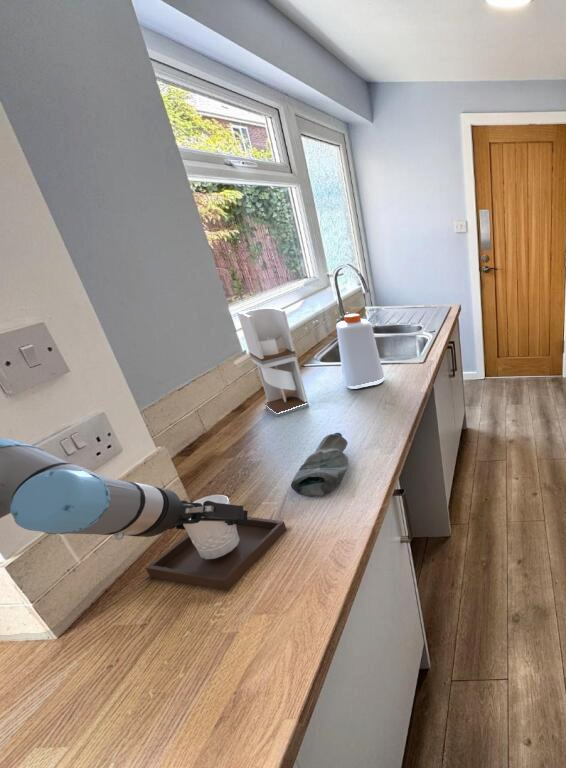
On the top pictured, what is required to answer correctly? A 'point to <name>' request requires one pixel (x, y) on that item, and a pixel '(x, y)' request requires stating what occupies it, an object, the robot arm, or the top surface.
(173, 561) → the serving tray
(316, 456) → the grey hollow crumpled part
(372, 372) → the plastic bottle
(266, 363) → the white tiered shelf stand
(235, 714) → the top surface
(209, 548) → the white cup
